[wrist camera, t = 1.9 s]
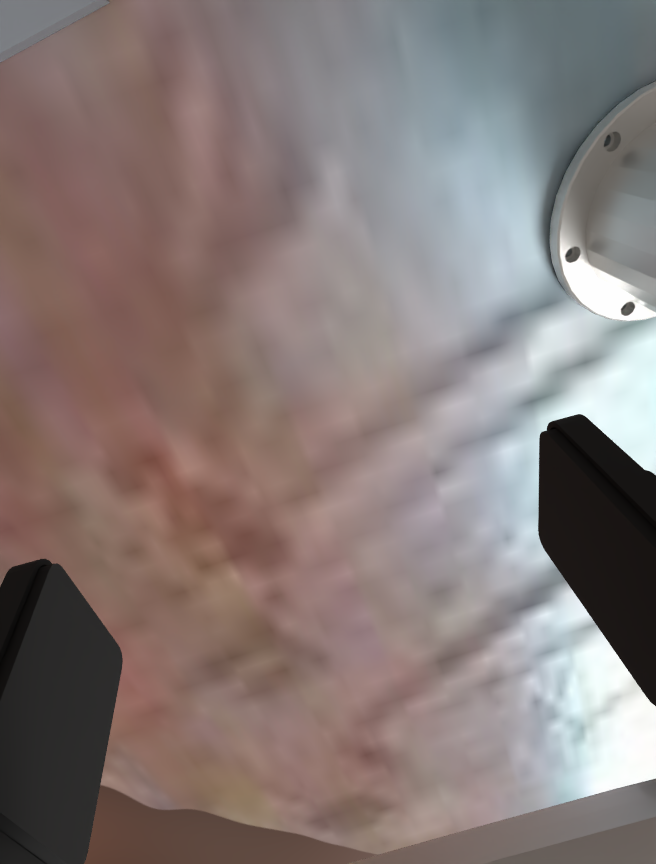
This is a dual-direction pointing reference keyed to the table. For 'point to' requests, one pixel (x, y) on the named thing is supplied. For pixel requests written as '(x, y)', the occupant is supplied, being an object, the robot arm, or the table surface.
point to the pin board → (38, 20)
